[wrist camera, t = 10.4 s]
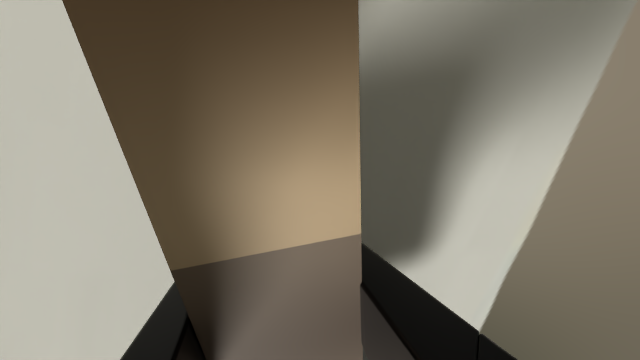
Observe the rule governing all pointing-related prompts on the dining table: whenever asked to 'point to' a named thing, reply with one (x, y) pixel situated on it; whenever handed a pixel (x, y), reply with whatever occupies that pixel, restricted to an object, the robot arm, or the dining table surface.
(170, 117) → the tan wooden plank
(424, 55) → the dining table surface
